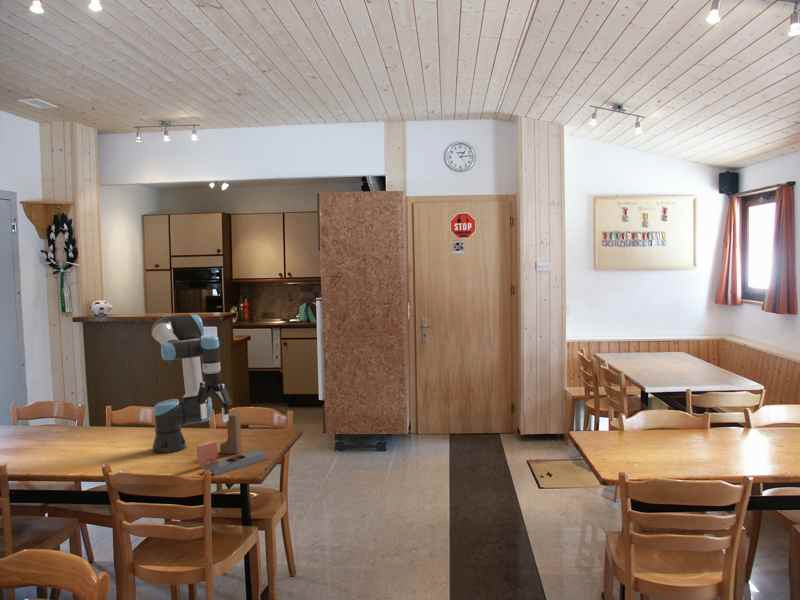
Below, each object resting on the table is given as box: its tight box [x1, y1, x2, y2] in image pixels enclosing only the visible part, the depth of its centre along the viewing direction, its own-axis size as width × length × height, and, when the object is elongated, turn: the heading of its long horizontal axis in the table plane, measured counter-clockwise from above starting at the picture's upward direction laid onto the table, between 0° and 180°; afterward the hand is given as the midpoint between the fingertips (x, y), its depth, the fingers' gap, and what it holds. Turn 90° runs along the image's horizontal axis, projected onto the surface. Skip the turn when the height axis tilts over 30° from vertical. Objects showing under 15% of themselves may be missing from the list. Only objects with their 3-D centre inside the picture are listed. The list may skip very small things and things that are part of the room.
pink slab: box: [196, 440, 218, 470], centre depth 270 cm, size 3×8×10 cm, turn 137°
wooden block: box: [219, 413, 243, 455], centre depth 289 cm, size 9×4×18 cm, turn 74°
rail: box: [203, 449, 268, 476], centre depth 269 cm, size 8×26×3 cm, turn 137°
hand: (214, 420), depth 271 cm, fingers open, 13 cm apart
